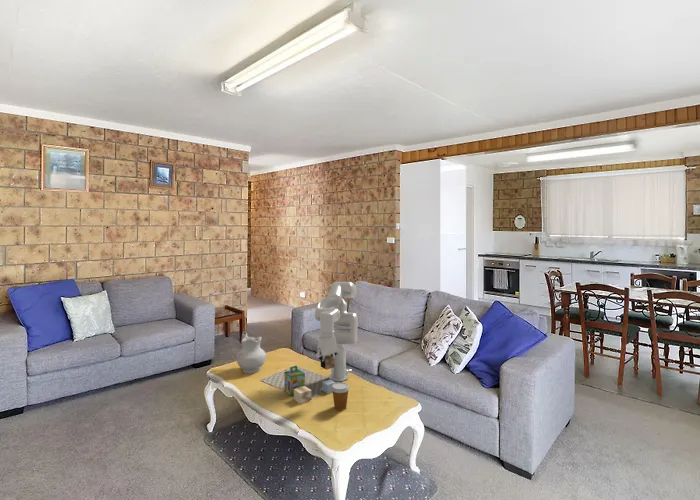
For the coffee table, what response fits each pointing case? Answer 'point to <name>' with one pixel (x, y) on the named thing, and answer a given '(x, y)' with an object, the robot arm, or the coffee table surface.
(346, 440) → the coffee table surface
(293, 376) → the chalk box
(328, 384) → the slate-blue block
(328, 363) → the walnut block
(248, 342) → the ceramic pitcher
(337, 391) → the disposable coffee cup
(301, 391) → the maple block
